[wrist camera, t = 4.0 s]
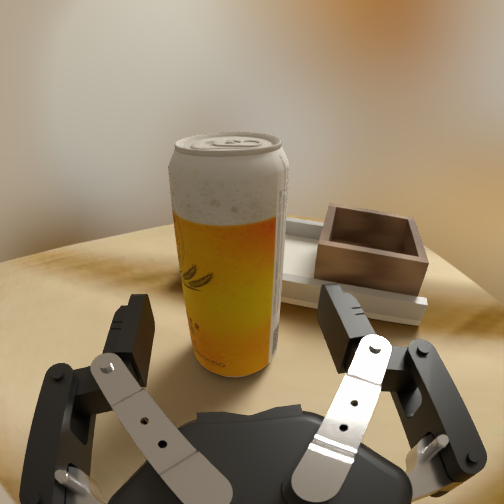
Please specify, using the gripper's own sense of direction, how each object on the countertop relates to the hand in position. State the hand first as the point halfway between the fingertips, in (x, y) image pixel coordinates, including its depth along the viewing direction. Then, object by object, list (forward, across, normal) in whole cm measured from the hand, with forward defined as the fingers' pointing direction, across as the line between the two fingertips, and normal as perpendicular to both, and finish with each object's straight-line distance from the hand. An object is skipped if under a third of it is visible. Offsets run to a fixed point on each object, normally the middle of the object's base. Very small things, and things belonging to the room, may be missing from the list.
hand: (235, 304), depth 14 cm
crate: (+13, -14, +8) cm, 20 cm away
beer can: (+5, 0, +9) cm, 10 cm away
